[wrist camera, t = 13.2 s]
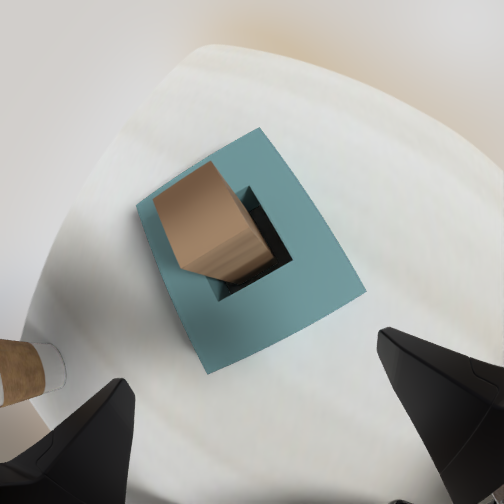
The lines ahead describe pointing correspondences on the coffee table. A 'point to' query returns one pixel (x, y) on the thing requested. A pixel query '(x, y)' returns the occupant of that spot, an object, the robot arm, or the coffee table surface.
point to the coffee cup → (28, 370)
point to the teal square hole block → (270, 286)
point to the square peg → (212, 228)
